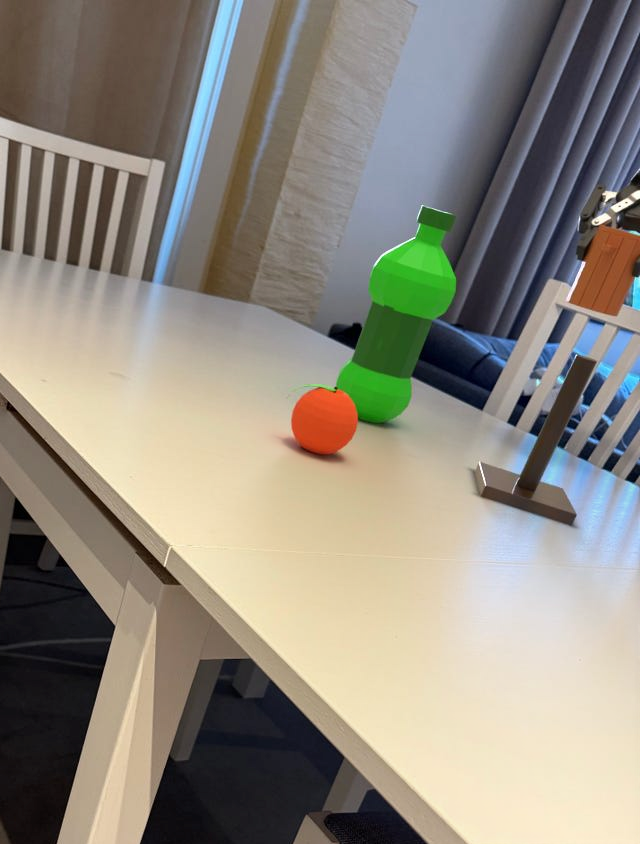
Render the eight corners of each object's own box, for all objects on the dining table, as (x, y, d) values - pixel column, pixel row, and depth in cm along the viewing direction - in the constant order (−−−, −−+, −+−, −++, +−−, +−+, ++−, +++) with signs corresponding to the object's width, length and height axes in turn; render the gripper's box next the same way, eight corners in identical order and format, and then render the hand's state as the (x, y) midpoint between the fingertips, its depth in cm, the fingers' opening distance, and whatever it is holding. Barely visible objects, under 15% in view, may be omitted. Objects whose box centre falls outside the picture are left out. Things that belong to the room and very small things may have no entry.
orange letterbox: (574, 302, 119) (606, 227, 114) (621, 316, 116) (657, 241, 111) (553, 299, 112) (588, 220, 108) (603, 315, 109) (641, 234, 105)
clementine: (267, 445, 96) (288, 378, 93) (279, 431, 102) (299, 368, 99) (340, 470, 95) (365, 403, 92) (348, 454, 101) (371, 391, 98)
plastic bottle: (309, 402, 119) (379, 193, 107) (356, 403, 126) (428, 207, 114) (369, 432, 113) (451, 214, 101) (416, 431, 120) (497, 227, 108)
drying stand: (557, 500, 107) (624, 364, 100) (570, 527, 99) (645, 380, 91) (473, 473, 108) (534, 336, 101) (479, 498, 100) (546, 350, 92)
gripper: (624, 129, 114) (554, 222, 111) (746, 156, 108) (675, 255, 104) (614, 181, 121) (547, 270, 118) (728, 210, 114) (661, 304, 111)
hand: (608, 263), depth 111 cm, fingers closed on orange letterbox, 6 cm apart
